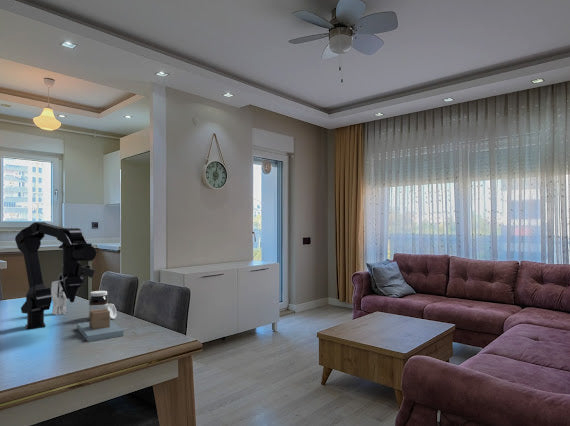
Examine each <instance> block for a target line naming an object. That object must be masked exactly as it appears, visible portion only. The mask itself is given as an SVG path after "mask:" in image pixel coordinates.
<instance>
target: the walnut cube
mask: <svg viewBox="0 0 570 426" xmlns="http://www.w3.org/2000/svg"><path fill="white" fill-rule="evenodd" d="M110 320H111V319H110V311H109V310H107V309H101V310H93V311H90V319H89V321H88V322H89V327H90V328H91V329H92V330H94V329H101V328H107V327H110Z"/></svg>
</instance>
